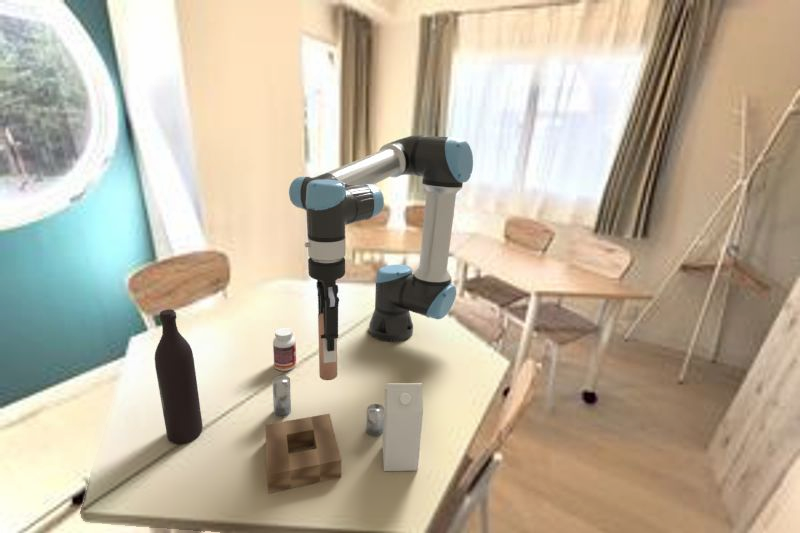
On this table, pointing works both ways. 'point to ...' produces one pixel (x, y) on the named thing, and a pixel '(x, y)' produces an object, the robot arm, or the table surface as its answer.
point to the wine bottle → (177, 383)
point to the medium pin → (281, 396)
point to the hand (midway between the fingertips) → (328, 355)
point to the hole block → (305, 464)
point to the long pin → (325, 369)
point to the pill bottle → (284, 349)
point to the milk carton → (402, 426)
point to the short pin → (375, 420)
